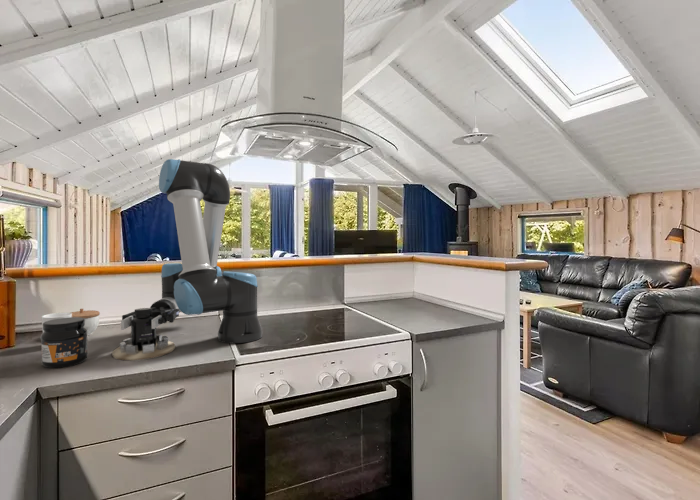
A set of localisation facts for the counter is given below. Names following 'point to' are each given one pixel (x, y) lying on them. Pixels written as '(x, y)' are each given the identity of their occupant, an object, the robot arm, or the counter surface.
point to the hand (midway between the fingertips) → (137, 324)
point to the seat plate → (141, 356)
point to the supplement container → (64, 342)
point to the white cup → (54, 317)
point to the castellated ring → (143, 346)
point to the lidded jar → (88, 319)
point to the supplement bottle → (142, 328)
